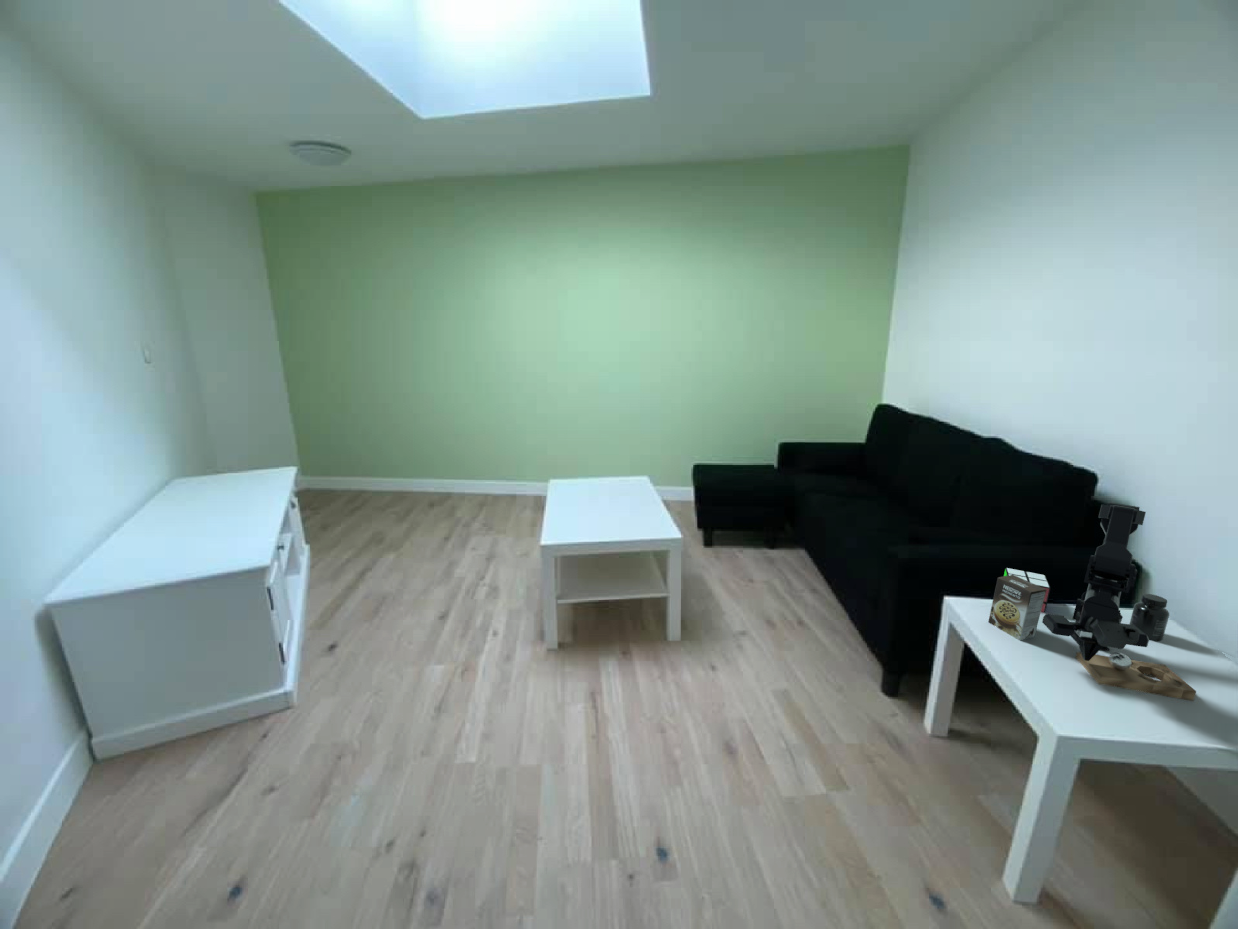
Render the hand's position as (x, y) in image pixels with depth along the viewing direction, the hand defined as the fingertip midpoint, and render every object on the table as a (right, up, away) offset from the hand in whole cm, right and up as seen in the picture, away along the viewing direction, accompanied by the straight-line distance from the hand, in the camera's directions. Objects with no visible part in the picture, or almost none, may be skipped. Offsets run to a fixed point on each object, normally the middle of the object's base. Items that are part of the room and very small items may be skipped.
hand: (1085, 659), depth 124 cm
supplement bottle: (+31, 0, +16) cm, 35 cm away
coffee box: (-6, 0, +17) cm, 18 cm away
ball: (+6, -1, -2) cm, 7 cm away
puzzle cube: (+9, +4, +32) cm, 33 cm away
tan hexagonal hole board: (+9, -4, -2) cm, 10 cm away
